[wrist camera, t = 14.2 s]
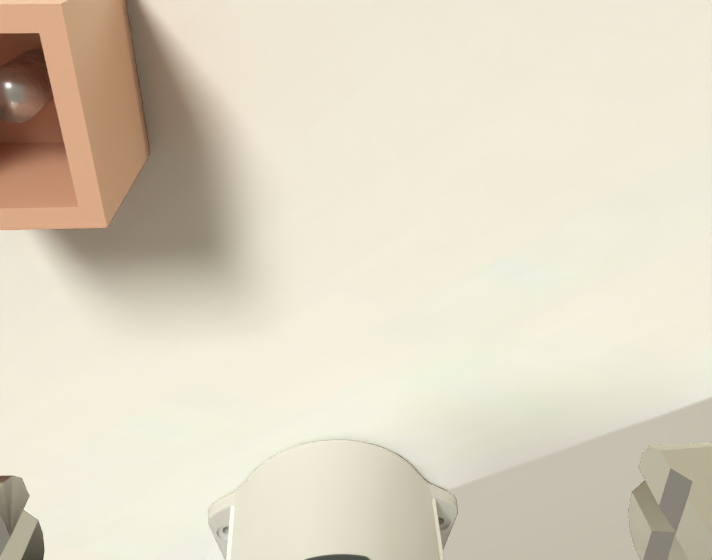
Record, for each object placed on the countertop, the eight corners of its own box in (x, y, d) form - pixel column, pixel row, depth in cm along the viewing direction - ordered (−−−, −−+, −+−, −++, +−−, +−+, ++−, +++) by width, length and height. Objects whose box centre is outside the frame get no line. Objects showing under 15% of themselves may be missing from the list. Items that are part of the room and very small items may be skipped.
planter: (150, 153, 37) (106, 227, 29) (-21, 156, 37) (-110, 232, 29) (121, -28, 32) (60, 3, 25) (-74, -27, 32) (-198, 5, 24)
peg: (70, 98, 34) (43, 122, 31) (21, 98, 34) (-11, 123, 31) (60, 48, 33) (31, 69, 30) (9, 49, 33) (-26, 69, 30)
